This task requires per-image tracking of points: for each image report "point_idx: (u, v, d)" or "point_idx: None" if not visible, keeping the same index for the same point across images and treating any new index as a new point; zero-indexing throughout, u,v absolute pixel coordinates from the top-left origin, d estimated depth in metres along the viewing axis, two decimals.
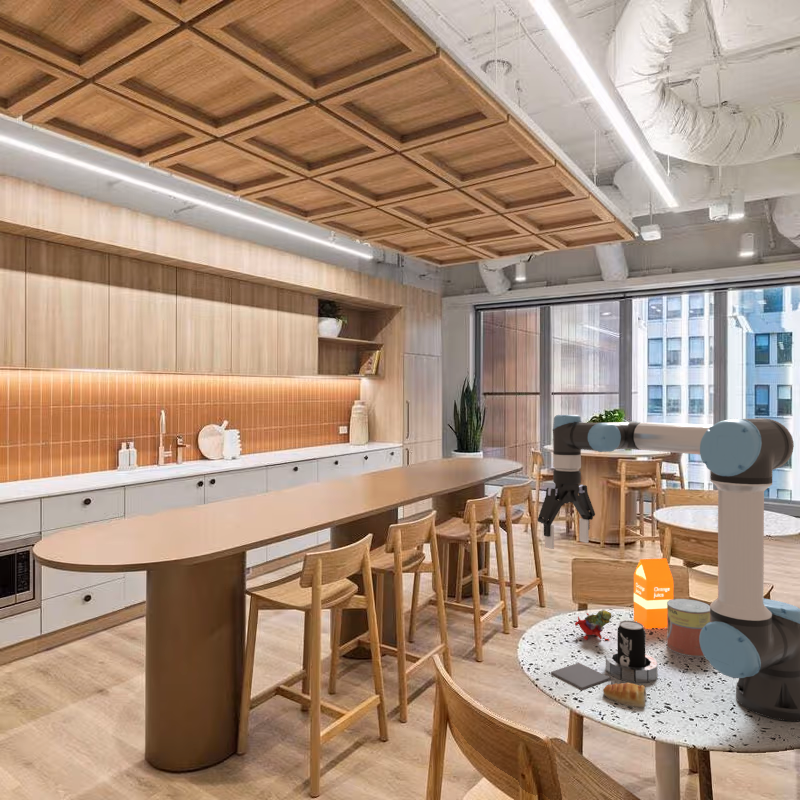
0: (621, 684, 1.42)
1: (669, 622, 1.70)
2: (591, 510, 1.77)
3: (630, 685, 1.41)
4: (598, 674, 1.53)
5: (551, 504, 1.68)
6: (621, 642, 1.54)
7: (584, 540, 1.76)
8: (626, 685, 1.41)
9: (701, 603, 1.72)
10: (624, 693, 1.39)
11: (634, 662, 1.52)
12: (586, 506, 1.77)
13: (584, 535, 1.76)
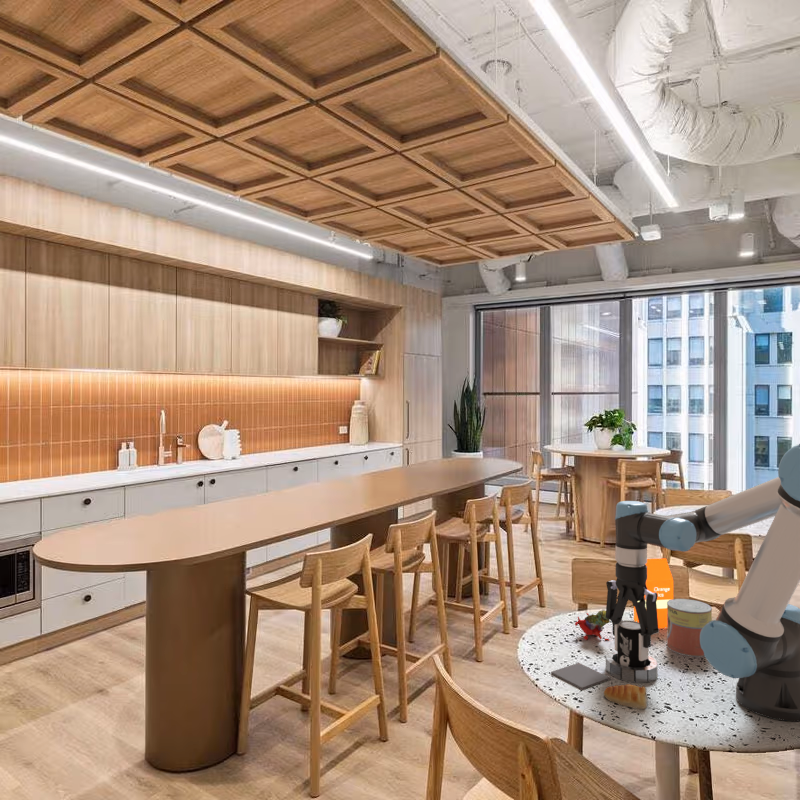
0: (622, 686, 1.41)
1: (669, 623, 1.70)
2: (648, 625, 1.50)
3: (631, 687, 1.40)
4: (598, 674, 1.53)
5: (609, 598, 1.60)
6: (621, 642, 1.54)
7: None
8: (627, 687, 1.40)
9: (701, 603, 1.72)
10: (626, 695, 1.38)
11: (634, 662, 1.52)
12: None
13: None
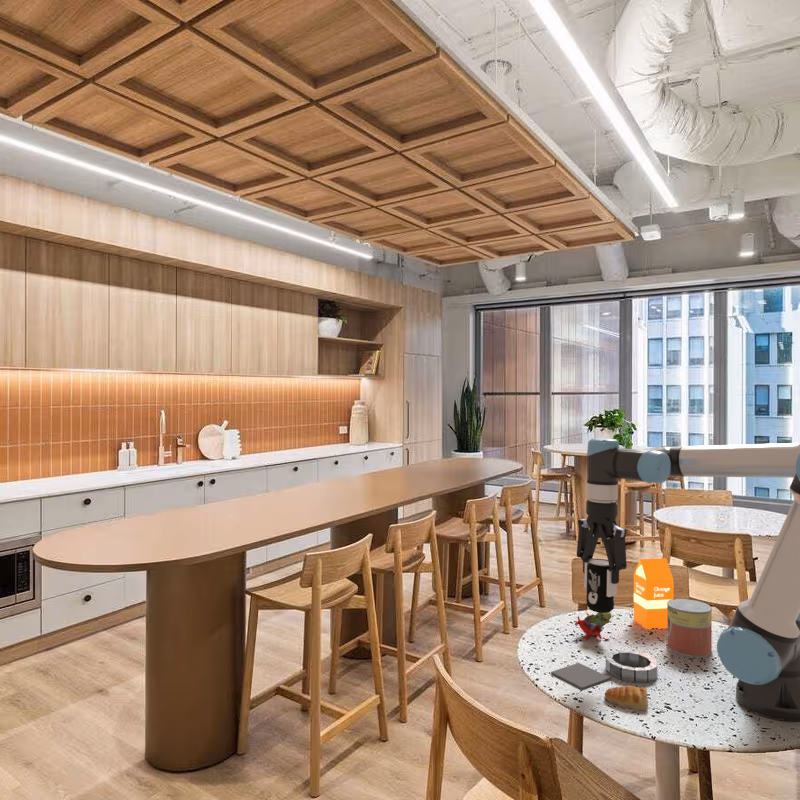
0: (623, 687, 1.41)
1: (669, 623, 1.70)
2: (616, 561, 1.49)
3: (632, 688, 1.40)
4: (598, 674, 1.53)
5: (580, 537, 1.59)
6: (590, 578, 1.54)
7: None
8: (628, 688, 1.40)
9: (701, 603, 1.72)
10: (627, 696, 1.38)
11: (602, 598, 1.52)
12: None
13: None
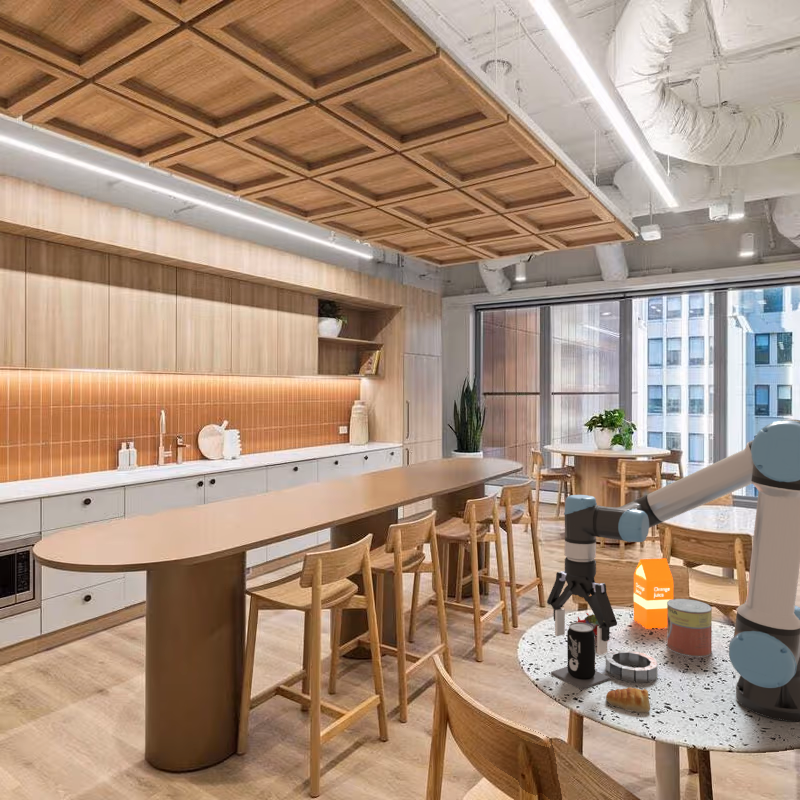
0: (624, 689, 1.40)
1: (669, 623, 1.70)
2: (605, 618, 1.45)
3: (633, 690, 1.39)
4: (598, 674, 1.53)
5: (555, 587, 1.59)
6: (570, 644, 1.52)
7: None
8: (629, 690, 1.39)
9: (701, 603, 1.72)
10: (629, 699, 1.37)
11: (583, 665, 1.50)
12: None
13: None
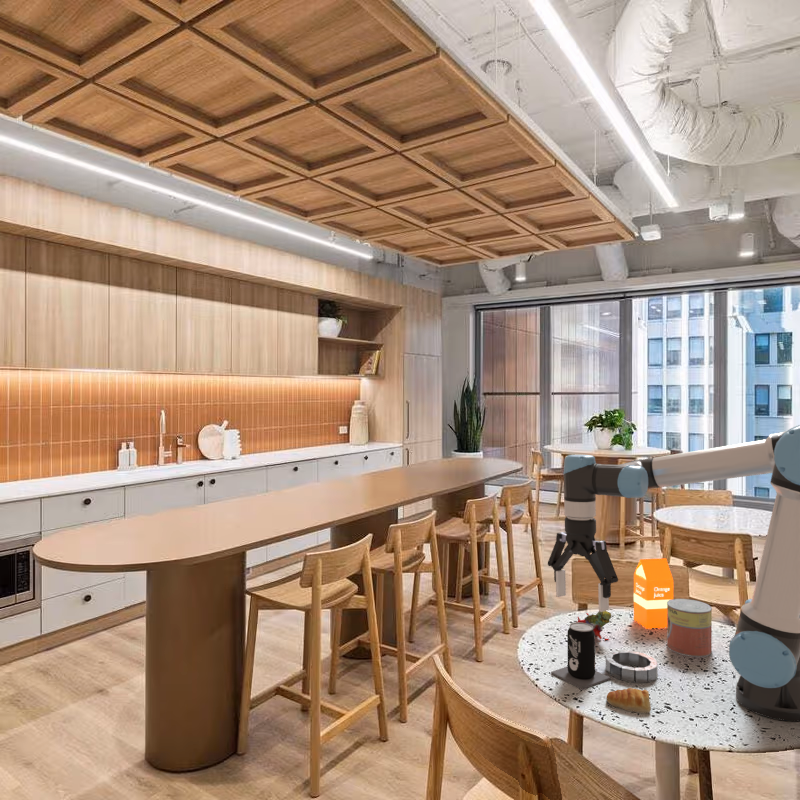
0: (624, 690, 1.39)
1: (669, 623, 1.70)
2: (606, 575, 1.45)
3: (634, 691, 1.38)
4: (598, 674, 1.53)
5: (555, 549, 1.58)
6: (570, 644, 1.52)
7: None
8: (630, 691, 1.38)
9: (701, 603, 1.72)
10: (630, 699, 1.36)
11: (583, 664, 1.50)
12: None
13: None
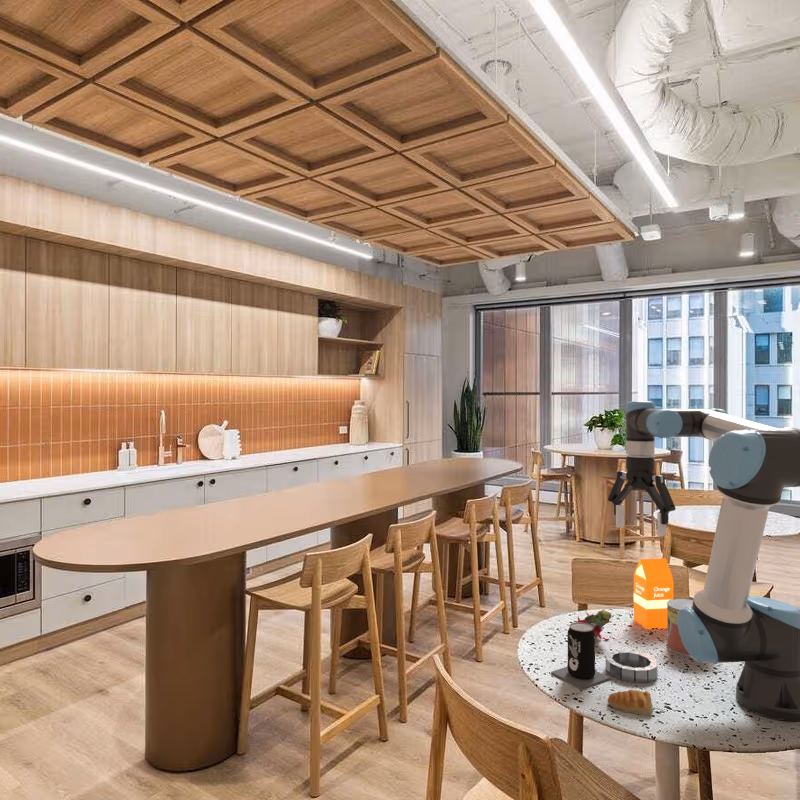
0: (626, 692, 1.38)
1: (669, 622, 1.70)
2: (665, 504, 1.65)
3: (635, 692, 1.38)
4: (598, 674, 1.53)
5: (615, 485, 1.79)
6: (570, 644, 1.52)
7: None
8: (632, 693, 1.37)
9: None
10: (632, 701, 1.35)
11: (583, 664, 1.50)
12: None
13: None
